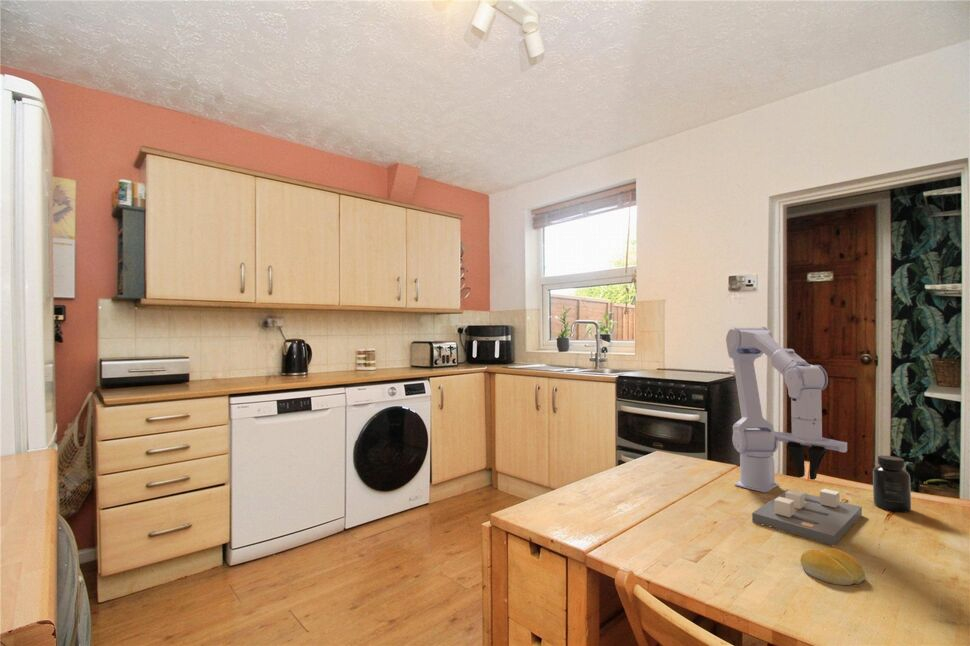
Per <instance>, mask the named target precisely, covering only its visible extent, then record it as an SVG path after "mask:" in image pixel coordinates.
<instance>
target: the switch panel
mask: <svg viewBox="0 0 970 646" xmlns="http://www.w3.org/2000/svg"><path fill="white" fill-rule="evenodd" d="M788 490H789V489H786V490H784V491H783V492H782V493H780V494H779V495H777V496H776V497H774V498H772V499H771V500H769V501H768V502H766V503H765V504H763V505H761V506H760V507H759V508H757V509H756V510H754V511H753V512H752V513H751V517H752V520H751V521H752V523H755V522H756V524H758V523H759V524H758V525H762V524H763V525H762V526H765V525H767V526H766V527H768V526H771V527H770V528H772V527H774V528H773V529H775V528H777V529H776V530H779V529H780V530H779V531H782V530H783V531H782V532H785V531H786V532H785V533H790V534H792V533H793V535H795V534H796V536H799V535H800V537H802V536H803V537H802V538H805V537H806V538H805V539H810V540H812V541H815V540H816V541H815V542H819V543H823V544H826V545H830V546H832V545H833V547H835V545H836V544H837V543H838V542H839V541H840V540H841V539H842V538H843V537H844V536H843V535H845V534H846V533H847V532H848V531H849V530H850V529H851V528H852V527H853V526H852V525H853V524H854V525H855V523H856V522H857V521H859V519H860V518H861V517H862V516H861V515H863V514H862V513H863V512H862V511H863V510H862V509H863V508H862V506H860V505H855V504H852V503H848V502H847V503H846V502H842V501H839V503H840V505H839V506H838V507H836V508H834V507H830V506H826V505H822V504H820V496H817V495H814V494H809V493H805V506H804V507H803V508H801V509H798V508H795V514H794V515H792V516H791V517H786V516H783V515H779V514H775V511H774V500H775V499H776V498H778V497H783V498H785V492H787V491H788ZM851 526H852V527H851ZM842 536H843V537H842ZM841 537H842V538H841Z"/></svg>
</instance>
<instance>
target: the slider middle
mask: <svg viewBox="0 0 970 646" xmlns="http://www.w3.org/2000/svg"><path fill="white" fill-rule="evenodd" d="M805 494H806V493H805V492H802V491H798V490H794V489H788V491H787V492H785V498H787V499H791V500H794V508H798V509H801V508H803V507H804V506H805Z"/></svg>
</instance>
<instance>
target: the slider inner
mask: <svg viewBox="0 0 970 646" xmlns="http://www.w3.org/2000/svg"><path fill="white" fill-rule="evenodd" d="M819 497H820V504H822V505H826V506H830V507H834V508H836V507H838V506H839V505H840V503H839V502H840V491H836V490H832V489H828V488H823V489H821V490H820V492H819Z"/></svg>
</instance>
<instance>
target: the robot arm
mask: <svg viewBox="0 0 970 646" xmlns="http://www.w3.org/2000/svg"><path fill="white" fill-rule="evenodd" d="M725 341H726V342H725V343H726V350H727V355H728V358H731V360H732V363H733V369H734V376H735V382H736V390H737V396H738V403H739V408H740V416H741V418H740V419H739V420H738V421H736V422H735V423H734V424H733V425H732V439H731V440H732V444H733V448H734V449H735V450H736V452H738V453H739V464H740V466H739V467H740V471H739V473H740V475H739V476H740V480H738V481H736V482H735V483H734V486H737V487H741V488H744V489H749V490H753V491H757V492H760V493H768V492H770V491H771V490H773V489H775V488H776V487H777V486H779V483H777V482H775V479H776V478H775V460H774V458H773V456H774V453H775V452H776V451H777V450H778V448H779V442H782V443H787V445H786V450H787V452H788V453H789V454H790V455H789V456H790V457H791V458H792V460H793V462H794V466H795V468H796V472H797V476H798V477H799V478H803V477H805V475H806V474H805V472H806V469H805V468H806V467H805V456H806V455H805V452H806V446H808V447H810V448H808V449H807V453H808V460H809V480H812V481H813V480H816V479H817V476H818V471H819V468H820V465H821V462H822V460H823V459H824V457H825V455H826V454H827V452H828V450H830V451H836V452H839V453H843V454H844V453H847V452H848V442H846V441H841V440H835V439H831V438H826V437H823V416H822V415H823V413H822V412H823V411H822V409H823V407H822V405H823V404H822V401H823V400H822V391H824V390H825V389H826V388H827V386H828V382H829V377H828V373H827V371H826V370H825V368H823V367H822V365H819V364H814V365H813V364H810V363H808V362H807V361H806V360H805V359H803V358H802V357H801V356H800V355H798V354H797V353H796V351H795V350H794V349H793V348H782V346H780V344H779V343H778V342H777V341H776V340H775V339H774V338H773V332H772V330H769V328H768V327H766V326H760V327H759V326H758V327H757V326H755V327H737V326H732V327H730V328H729V329H728V331H727V334H726V337H725ZM763 355H765V356H767V357H768V358H770V364H771V366H772V367H773V368H774V369H776V370H777V371H778V372H779V373H780V374H781V375H782V376H783V377H784V383H785V385H786V386H787V391H788V393H787V394H788V397H789V398H790V402H791V403H790V406H791V408H790V409H791V412H790V413H791V414H790V416H791V417H790V419H791V433H790V432H781V431H780V432H779V431H775V428H774V425H773V423H771V422H769V421H768V420H767V419H766V418H764V417H763V412H762V411H763V410H762V406H761V399H760V394H759V387H758V382H757V375H756V370H755V369H756V368H755V361H756V359H759V358H761V357H762V356H763Z"/></svg>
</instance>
